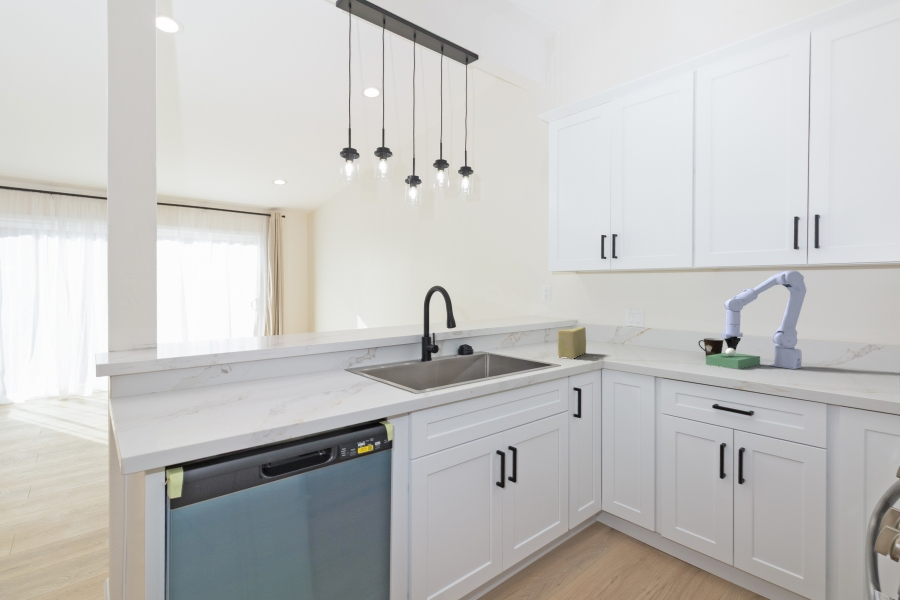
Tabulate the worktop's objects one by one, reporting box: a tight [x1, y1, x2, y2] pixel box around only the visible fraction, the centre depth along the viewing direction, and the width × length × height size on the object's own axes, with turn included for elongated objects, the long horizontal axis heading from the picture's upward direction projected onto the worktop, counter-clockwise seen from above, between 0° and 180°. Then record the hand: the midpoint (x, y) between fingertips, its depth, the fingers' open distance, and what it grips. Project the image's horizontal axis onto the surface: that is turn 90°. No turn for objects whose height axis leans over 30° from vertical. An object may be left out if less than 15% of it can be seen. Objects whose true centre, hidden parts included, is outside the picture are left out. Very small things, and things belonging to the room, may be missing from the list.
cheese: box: [557, 326, 587, 359], centre depth 227 cm, size 22×10×15 cm, turn 137°
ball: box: [725, 347, 737, 357], centre depth 200 cm, size 4×4×4 cm
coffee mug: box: [697, 337, 725, 357], centre depth 218 cm, size 12×9×10 cm
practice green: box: [705, 352, 761, 370], centre depth 200 cm, size 20×14×4 cm
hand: (731, 352), depth 200 cm, fingers closed, pressing on ball
